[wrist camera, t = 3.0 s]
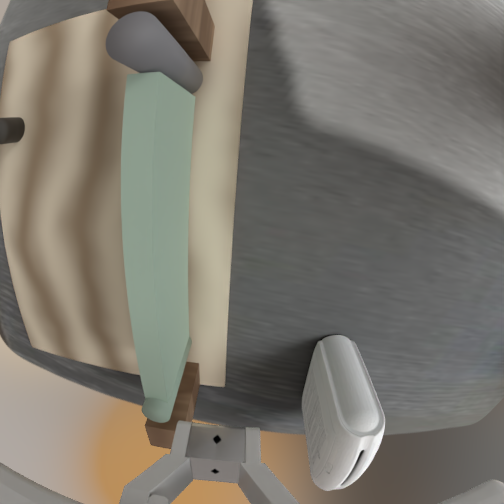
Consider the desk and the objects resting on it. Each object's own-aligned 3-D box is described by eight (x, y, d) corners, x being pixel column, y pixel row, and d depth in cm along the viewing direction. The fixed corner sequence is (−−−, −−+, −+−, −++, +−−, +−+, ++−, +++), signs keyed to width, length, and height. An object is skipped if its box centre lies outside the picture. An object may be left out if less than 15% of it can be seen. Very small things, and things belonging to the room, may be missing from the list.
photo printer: (334, 404, 30) (355, 497, 18) (297, 405, 30) (308, 503, 18) (358, 332, 26) (403, 436, 15) (314, 332, 26) (342, 445, 14)
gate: (171, 64, 17) (110, 16, 8) (204, 64, 17) (164, 7, 8) (168, 347, 25) (137, 431, 16) (194, 350, 26) (171, 438, 16)
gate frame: (252, 0, 16) (249, -88, 6) (225, 383, 28) (214, 474, 18) (13, 42, 16) (-62, 28, 6) (34, 344, 28) (-13, 401, 18)
